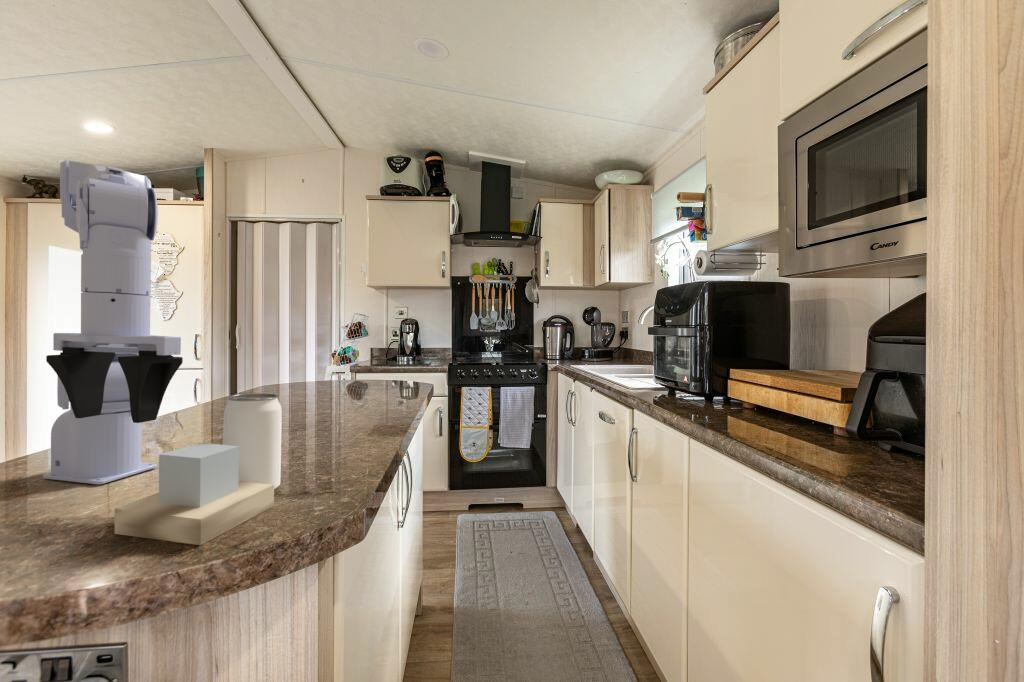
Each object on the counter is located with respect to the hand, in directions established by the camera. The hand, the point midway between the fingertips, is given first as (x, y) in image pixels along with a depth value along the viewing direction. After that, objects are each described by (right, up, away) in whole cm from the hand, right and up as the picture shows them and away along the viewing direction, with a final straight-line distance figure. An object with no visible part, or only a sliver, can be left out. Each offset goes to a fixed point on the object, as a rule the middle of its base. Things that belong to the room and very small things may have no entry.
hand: (115, 418), depth 50 cm
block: (+10, -8, -1) cm, 13 cm away
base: (+10, -11, -1) cm, 14 cm away
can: (+10, -11, +8) cm, 17 cm away
